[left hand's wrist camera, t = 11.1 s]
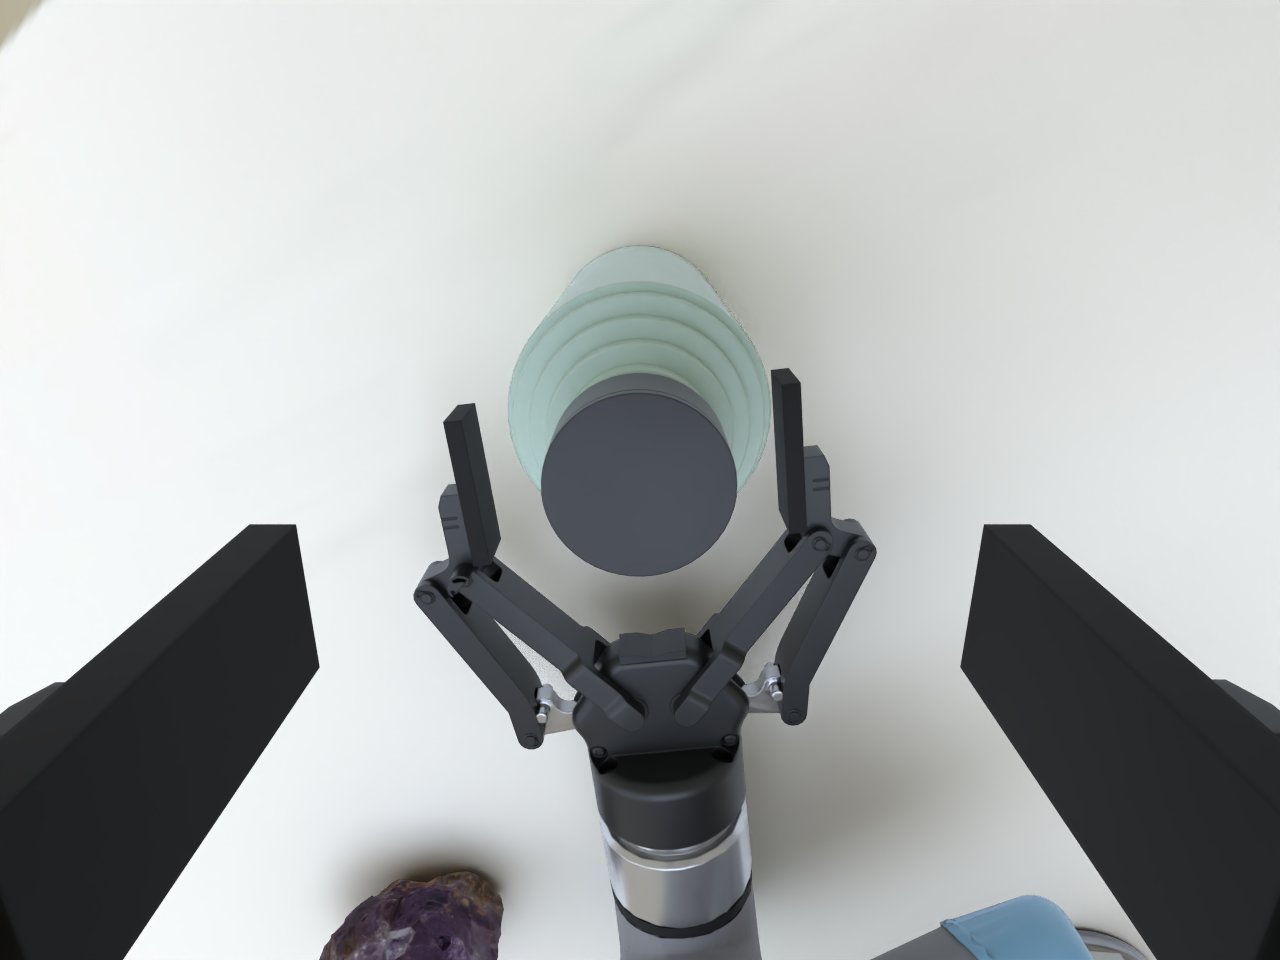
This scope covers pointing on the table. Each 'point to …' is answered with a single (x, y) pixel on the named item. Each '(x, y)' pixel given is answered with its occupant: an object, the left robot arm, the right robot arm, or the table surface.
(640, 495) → the cap
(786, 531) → the right robot arm
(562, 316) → the bottle
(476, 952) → the rock
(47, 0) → the table surface
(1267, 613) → the table surface
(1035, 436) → the table surface
